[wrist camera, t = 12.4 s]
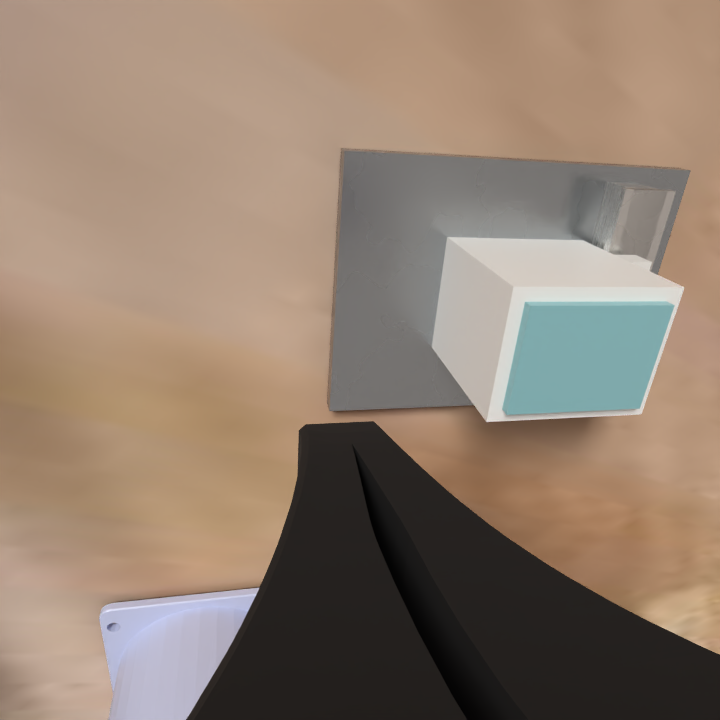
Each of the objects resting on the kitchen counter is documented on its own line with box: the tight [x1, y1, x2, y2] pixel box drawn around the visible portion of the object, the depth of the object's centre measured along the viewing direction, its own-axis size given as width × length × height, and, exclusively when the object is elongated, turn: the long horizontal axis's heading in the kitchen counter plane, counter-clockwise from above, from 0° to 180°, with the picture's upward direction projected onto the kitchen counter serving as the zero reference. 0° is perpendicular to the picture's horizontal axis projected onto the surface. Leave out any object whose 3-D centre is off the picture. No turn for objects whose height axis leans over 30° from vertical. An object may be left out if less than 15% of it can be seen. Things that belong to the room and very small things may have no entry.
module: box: [432, 237, 684, 422], centre depth 18 cm, size 4×6×5 cm
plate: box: [327, 148, 690, 411], centre depth 20 cm, size 9×12×1 cm
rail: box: [590, 182, 676, 272], centre depth 20 cm, size 8×2×2 cm, turn 176°
